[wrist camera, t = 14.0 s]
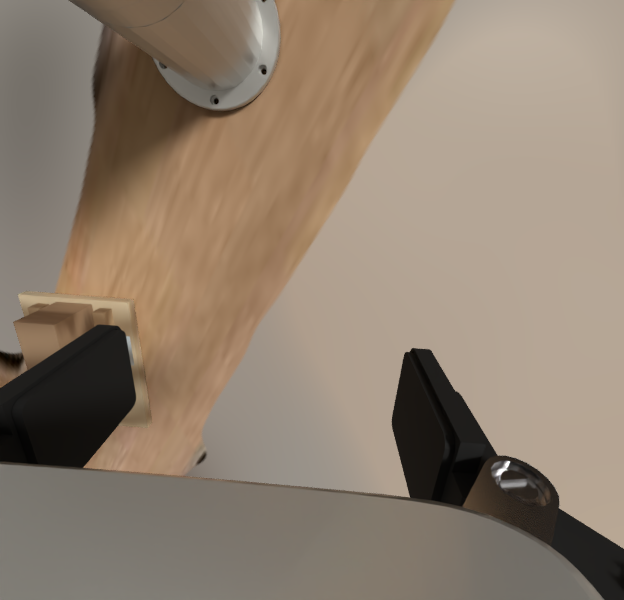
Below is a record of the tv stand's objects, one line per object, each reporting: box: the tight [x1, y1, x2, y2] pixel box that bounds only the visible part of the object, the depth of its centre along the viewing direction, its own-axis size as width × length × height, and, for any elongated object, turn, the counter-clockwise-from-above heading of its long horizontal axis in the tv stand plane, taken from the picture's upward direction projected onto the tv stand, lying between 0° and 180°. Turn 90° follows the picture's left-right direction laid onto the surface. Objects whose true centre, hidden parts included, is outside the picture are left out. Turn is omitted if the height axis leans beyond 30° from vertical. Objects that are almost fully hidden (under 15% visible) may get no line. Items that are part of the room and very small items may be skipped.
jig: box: [18, 291, 152, 428], centre depth 43 cm, size 20×14×4 cm
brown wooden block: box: [13, 302, 95, 370], centre depth 40 cm, size 14×4×6 cm, turn 176°
